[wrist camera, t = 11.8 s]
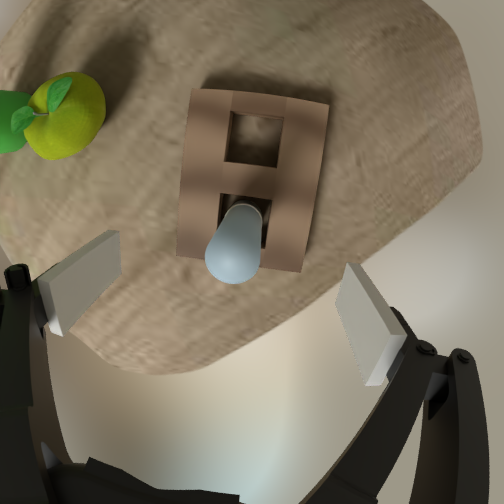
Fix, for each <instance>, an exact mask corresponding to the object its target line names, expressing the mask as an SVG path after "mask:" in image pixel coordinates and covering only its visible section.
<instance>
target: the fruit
mask: <svg viewBox="0 0 504 504" xmlns="http://www.w3.org/2000/svg"><path fill="white" fill-rule="evenodd" d="M105 115H106V104H105V97H104V94H103V91H102V89H101V87H100V86H99V84H98V83H97V82H96V81H95V80H94V79H93V78H91V77H90V76H88V75H86V74H84V73H80V72H67V73H63V74H60V75H58V76H56V77H53V78H51V79H49V80H48V81H46V82H44V83H43V84H42V85H41V86H40V87H39V88H38V89H37V90H36V92H35V93H34V94H33V95H32V97H31V98H30V100H29V102H28V105H27V106H24V107H22V108H20V109H18V110H17V111H15V112H14V113H13V115H12V119H11V130H12V133H13V134H17V133H20V132H21V131H23V130H24V135H25V138H26V140H27V141H28V143H29V144H30V146H31V147H32V148H33V150H34V151H35V152H36V153H37V154H38V155H39V156H41V157H42V158H44V159H48V160H57V159H62V158H65V157H68V156H71V155H73V154H75V153H77V152H79V151H81V150H82V149H84V148H85V147H86V146H87V145H89V144H90V143H91V141H92V140H93V139H94V138H95V136H96V135H97V133H98V131H99V129H100V127H101V125H102V123H103V121H104V119H105Z"/></svg>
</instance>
